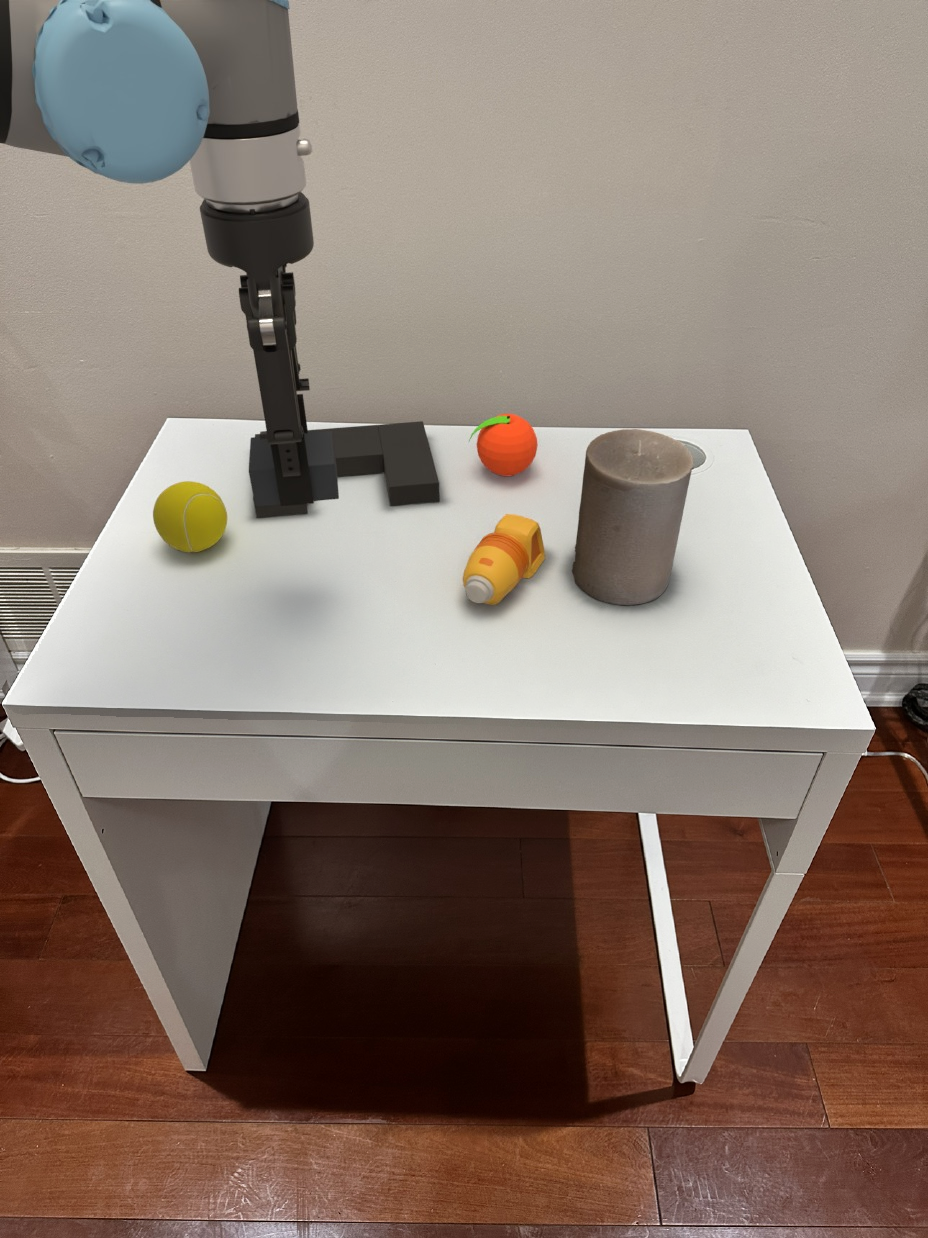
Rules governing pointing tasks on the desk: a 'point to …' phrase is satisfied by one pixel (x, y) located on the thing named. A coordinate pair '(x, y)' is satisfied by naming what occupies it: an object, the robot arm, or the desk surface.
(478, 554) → the yellow toy drill
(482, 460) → the clementine
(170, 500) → the tennis ball
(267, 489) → the dark grey rectangular block
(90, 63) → the robot arm
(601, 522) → the pillar candle
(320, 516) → the desk surface
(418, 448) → the black u-shaped block
